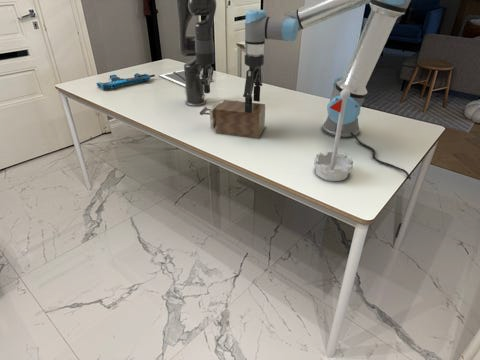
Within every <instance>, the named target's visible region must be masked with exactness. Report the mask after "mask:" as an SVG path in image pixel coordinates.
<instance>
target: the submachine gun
mask: <svg viewBox="0 0 480 360" xmlns="http://www.w3.org/2000/svg"><path fill="white" fill-rule="evenodd" d="M154 77H156V74H147V73H142V74H141V73H139V72H137V73H135V74H133V77H128V78H121V77H119V76H118V75H117V74H110V75H109V79H111V81H107V82H96V83H95V84H96V87H98V88H99V89H101V90H102V91H103V90H109V89H113V90H116V88H118V87H119V88H120V87H122V86H127V85H133V84H138V83H142V82H148V81H149V80H150V79H151V78H154Z"/></svg>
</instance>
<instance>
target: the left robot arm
mask: <svg viewBox="0 0 480 360" xmlns="http://www.w3.org/2000/svg"><path fill="white" fill-rule="evenodd" d="M175 5H176V13H177V25H178V26H177V28H178V30H177V31H178V50H179V54H180V56H181V57H193V58H192V59H191V60H190V61H187V62H185V64H183V70H184V73H185V79H184V78H183V77H181V76H180V75H178V74H177V73H175V72H176V71H172V72H173V73H175V74H176V75H178V76H179V77H181V78H182V79H183V80H184V81H185V86H186V87H185V96H186V97H185V98H186V104H187V105H188V106H191V107H198V106H202V105H205V103H206V99H205V98H206V94H210V93H211V82H213V81H212V80H213V77H214V70H215V68H214V67H213V66H212V65H213V64H215V61H216V60H215V44H214V19H215V16H216V15H215V14H216V10H217V0H175ZM194 16H195V17H198V16H199V17H200V16H206V17H205V18H204V20H201V21H198V22H196V23H195V24H194V35H193V34H192V35H187V31H188V26H189V25H190V23H191V20H192V19H193V17H194Z"/></svg>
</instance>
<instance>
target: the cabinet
mask: <svg viewBox="0 0 480 360" xmlns="http://www.w3.org/2000/svg"><path fill="white" fill-rule="evenodd" d="M220 103H221V104H220V105H219V106H218V107H217V108H216V127H215V130H216V134H221V135H229V136H237V137H245V138H252V139H259V138H260V137H261V134H262V132H263V131H264V129H265V128H266V127H265V126H266V125H265V124H266V103H259V102H258V103H257V102H252V113H247V112H245V101H240V100H239V101H238V100H231V99H230V100H229V99H223V100H222V102H220Z"/></svg>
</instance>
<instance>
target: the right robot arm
mask: <svg viewBox="0 0 480 360" xmlns="http://www.w3.org/2000/svg"><path fill="white" fill-rule="evenodd" d="M411 1H412V0H315V1H313V2H310V3H308V4H306V5H303V6H301V7H299V8H297V9H294V10H292V11H288V12H286V13H284V14H283V15H281V16H279V17H277V16H276V17H275V16H268V15H267V11H266V10H264V9H257V8H256V9H249V10H247V11H246V12H245V21H244V22H245V23H244V44H243V48H244V53H245V54H244V65H245V66H246V67H247V66H248V70H246V72H245V73H246V74H245V75H246V76H245V83H244V90H243V94H242V97H243V98H244V102H245V112H247V113H252V103H253V102H258V103H259V102H260V101H261V100H260V99H261V87H262V86H263V83H262V82H263V80H262V66H263V65H264V63H265V55H264V54H265V49H266V47H265V46H266V45H265V44H266V43H265V42H266V41H265V40H274V41H284V42H295V40H297V37H298V33H299V31H302V30H304V29H306V28H309V27H312V26H314V25H317V24H319V23H321V22H324V21H326V20H329V19H332V18H335V17H337V16H339V15H342V14H344V13H347V12H350V11H352V10H354V9H358V8H361V7H363V6H366V5H368V4H369V7H370V13H369V15H368V17H367V20H366V22H365V25H364V27H363V29H362V32H361V34H360V37H359V39H358V41H357V44H356V45H355V46H356V47H355V49H354V51H353V54H352V56H351V58H350V61H349V63H348V66H347V68H346V70H345V73H344V76H339V77H336V78H335V79H334V82H333V84H332V85H333V86H332V87H333V88H332V93H331V96H330V99H329V102H328V103H327V105H326V106H327V108H326V111H327V117H326V120H325V121H324V123H323V126H322V130H323V132H324V133H325V134H326V135H329V136H332V137H336V131H337V125H338V119H339V113H340V112H337V111H335V110H333V109H331V108H329V107H331V106H332V105H334V104H335V103H337V102H338V101H340V100H341V99H342V98H341V96H340V93H341V91H342V90H344V89H347V90H349V92H350V96H349V98H347V101H346V107H345V113H344V118H343V124H342V130H341V135H340V139H341V138H342V139H349V138H354V139H355V141H356V142H357V143H358V144H360V145H361V146H363V147H365V148H367V149H369V150H371V152H372V159H373V160H374V161H376V162H377V163H379V164H382V165H385V166H389V167H391V168H393V169H396V170H398V171H401V172H403V173H404V174H405V175H406V177H407V179H408V180H412V177H411V175H410V174H409V172H408V171H407V170H405V169H404V168H402V167H399V166H396V165H394V164H391V163H388V162H387V161H386V162H385V161H383V160H381V159H378V158H377V157H376V150H375V149H374V148H372V147H371V146H370V145H367V144H365V143H363V142H362V141H360V140H359V138H358V137H357V135H359V132H360V125H359V118H358V117H359V115H360V114H361V107H362V105H363V103H364V102H365V99H366V97H367V95H368V90H367V87H366V86H367V85H368V82H369V81H370V78H371V76H372V74H373V71H374V70H375V67H376V65H377V63H378V61H379V59H380V56H381V54H382V52H383V50H384V48H385V45H386V44H387V41H388V38H389V36H390V34H391V32H392V30H393V29H394V28H393V27H395V24H396V21H397V19H398V18H399V17H401V16H403V15H405V14H406V12H407V10H408V7H409V5H410V3H411ZM402 224H403V222H400V223H399V224H398V227H397V229H396V233H395V238H396V239H397V238H399V237H398V236H399V233H400V231H401V228H402Z"/></svg>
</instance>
